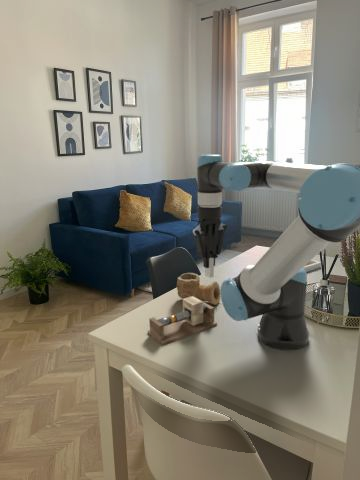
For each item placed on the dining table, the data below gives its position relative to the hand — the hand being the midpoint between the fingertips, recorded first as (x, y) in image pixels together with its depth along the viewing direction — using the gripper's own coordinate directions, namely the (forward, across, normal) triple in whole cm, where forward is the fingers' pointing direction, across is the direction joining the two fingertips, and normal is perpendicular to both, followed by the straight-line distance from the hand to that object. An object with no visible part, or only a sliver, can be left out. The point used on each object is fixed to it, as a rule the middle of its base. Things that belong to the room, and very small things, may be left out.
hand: (209, 276), depth 120 cm
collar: (+14, +7, 0) cm, 16 cm away
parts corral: (+16, -67, -18) cm, 71 cm away
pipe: (+16, -5, -13) cm, 22 cm away
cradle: (+16, +11, 0) cm, 19 cm away
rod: (+12, +11, 0) cm, 16 cm away
